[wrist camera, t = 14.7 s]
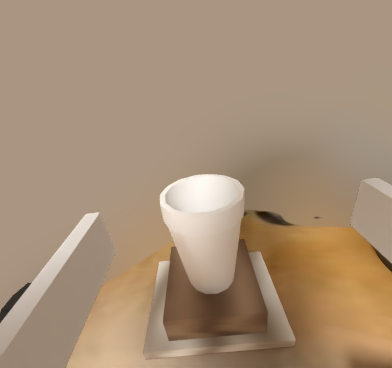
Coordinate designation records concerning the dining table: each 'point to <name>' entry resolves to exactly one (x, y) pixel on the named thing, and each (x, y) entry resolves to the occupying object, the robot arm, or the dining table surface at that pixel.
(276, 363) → the dining table surface
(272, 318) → the build base
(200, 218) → the foam cup
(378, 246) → the robot arm
